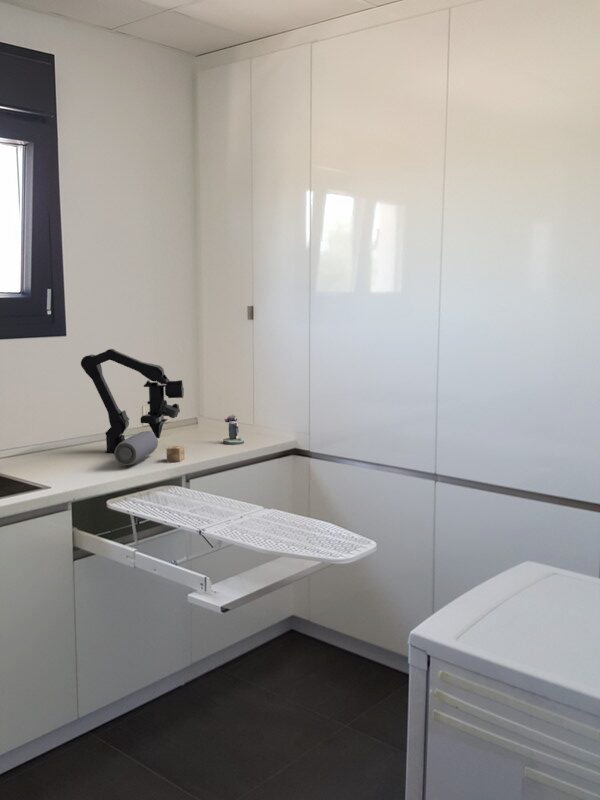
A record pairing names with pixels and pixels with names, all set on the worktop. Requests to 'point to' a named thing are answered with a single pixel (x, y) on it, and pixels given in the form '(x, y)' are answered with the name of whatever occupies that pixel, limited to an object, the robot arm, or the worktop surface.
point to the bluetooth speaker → (136, 448)
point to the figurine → (233, 432)
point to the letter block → (175, 453)
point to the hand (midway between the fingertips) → (157, 438)
